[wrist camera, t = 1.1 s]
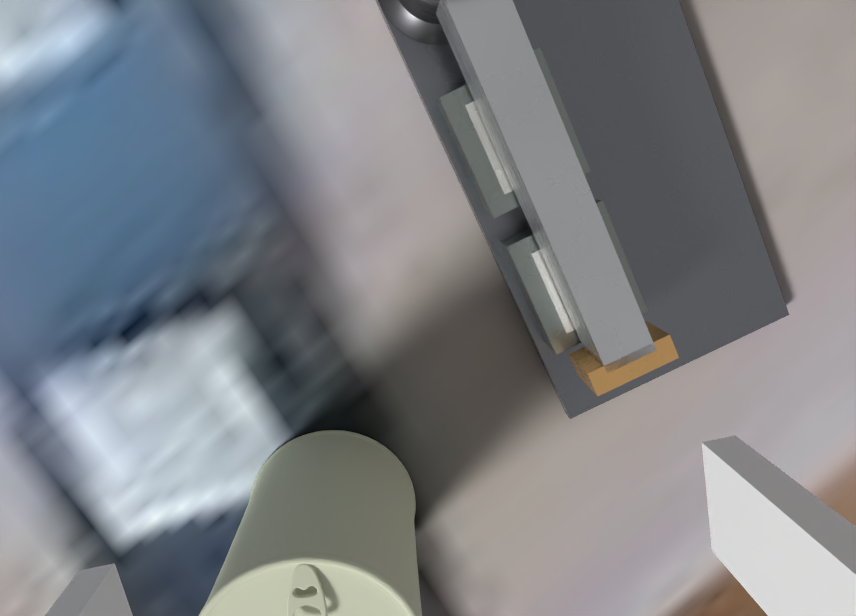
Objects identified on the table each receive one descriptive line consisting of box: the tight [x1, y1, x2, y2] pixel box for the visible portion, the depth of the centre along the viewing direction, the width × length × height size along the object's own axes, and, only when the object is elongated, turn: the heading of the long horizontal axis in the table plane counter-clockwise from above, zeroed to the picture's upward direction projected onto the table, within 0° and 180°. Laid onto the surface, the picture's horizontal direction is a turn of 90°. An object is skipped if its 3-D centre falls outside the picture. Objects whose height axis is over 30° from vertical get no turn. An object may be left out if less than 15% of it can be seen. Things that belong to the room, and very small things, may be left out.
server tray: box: [376, 0, 789, 419], centre depth 30 cm, size 26×13×3 cm, turn 26°
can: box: [199, 430, 422, 616], centre depth 29 cm, size 9×9×12 cm
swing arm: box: [399, 0, 679, 396], centre depth 27 cm, size 22×4×7 cm, turn 26°
